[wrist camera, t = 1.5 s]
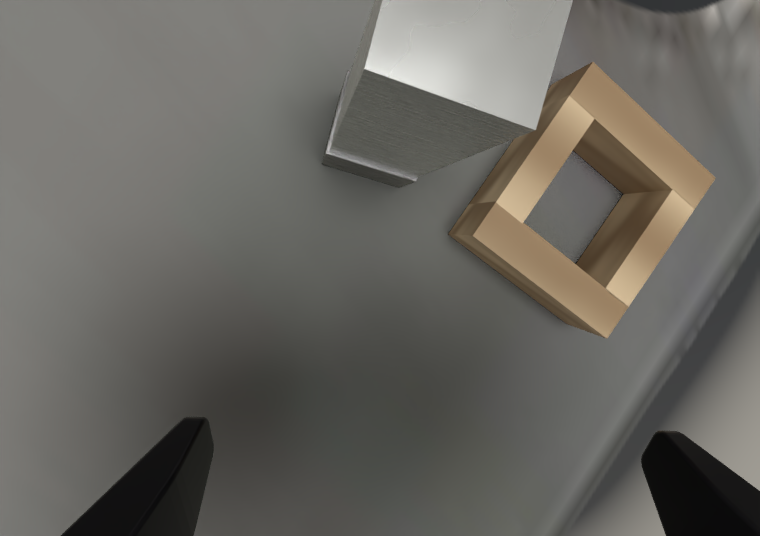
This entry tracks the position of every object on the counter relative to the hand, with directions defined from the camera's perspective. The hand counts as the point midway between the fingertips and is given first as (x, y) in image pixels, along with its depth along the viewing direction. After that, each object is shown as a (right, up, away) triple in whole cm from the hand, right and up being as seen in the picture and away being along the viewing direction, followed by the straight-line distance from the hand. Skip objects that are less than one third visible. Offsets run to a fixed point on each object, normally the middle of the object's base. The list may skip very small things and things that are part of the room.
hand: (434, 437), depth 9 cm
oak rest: (+8, +6, +13) cm, 17 cm away
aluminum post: (-2, +9, +11) cm, 14 cm away
